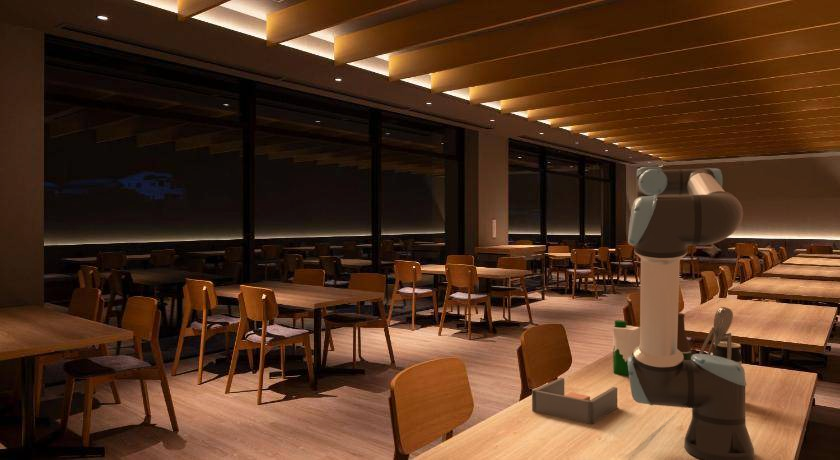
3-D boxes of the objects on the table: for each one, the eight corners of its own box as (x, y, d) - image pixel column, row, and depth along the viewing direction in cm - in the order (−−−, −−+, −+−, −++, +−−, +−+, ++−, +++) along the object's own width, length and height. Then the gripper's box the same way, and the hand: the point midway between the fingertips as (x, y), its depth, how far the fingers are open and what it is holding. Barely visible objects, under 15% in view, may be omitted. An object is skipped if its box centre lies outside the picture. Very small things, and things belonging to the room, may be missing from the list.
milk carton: (618, 371, 213) (617, 319, 213) (642, 375, 208) (642, 321, 208) (610, 376, 206) (610, 322, 206) (635, 380, 201) (635, 324, 201)
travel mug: (744, 406, 170) (744, 347, 170) (714, 403, 173) (715, 345, 173) (737, 399, 178) (738, 342, 178) (710, 396, 180) (710, 340, 180)
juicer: (683, 395, 170) (710, 301, 174) (694, 398, 178) (719, 308, 182) (718, 407, 164) (745, 309, 167) (727, 410, 172) (752, 316, 175)
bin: (591, 424, 155) (591, 402, 155) (532, 410, 167) (532, 390, 167) (617, 407, 170) (617, 387, 170) (560, 396, 181) (560, 377, 181)
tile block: (579, 414, 164) (579, 400, 164) (561, 409, 168) (561, 396, 168) (589, 409, 168) (589, 396, 168) (572, 405, 172) (572, 392, 172)
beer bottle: (677, 384, 195) (677, 315, 195) (662, 378, 203) (662, 312, 203) (696, 382, 197) (696, 314, 197) (680, 377, 205) (680, 311, 205)
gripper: (644, 217, 183) (644, 289, 183) (630, 216, 173) (630, 292, 173) (668, 216, 178) (668, 290, 178) (655, 215, 168) (655, 294, 168)
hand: (649, 291), depth 176 cm, fingers closed
